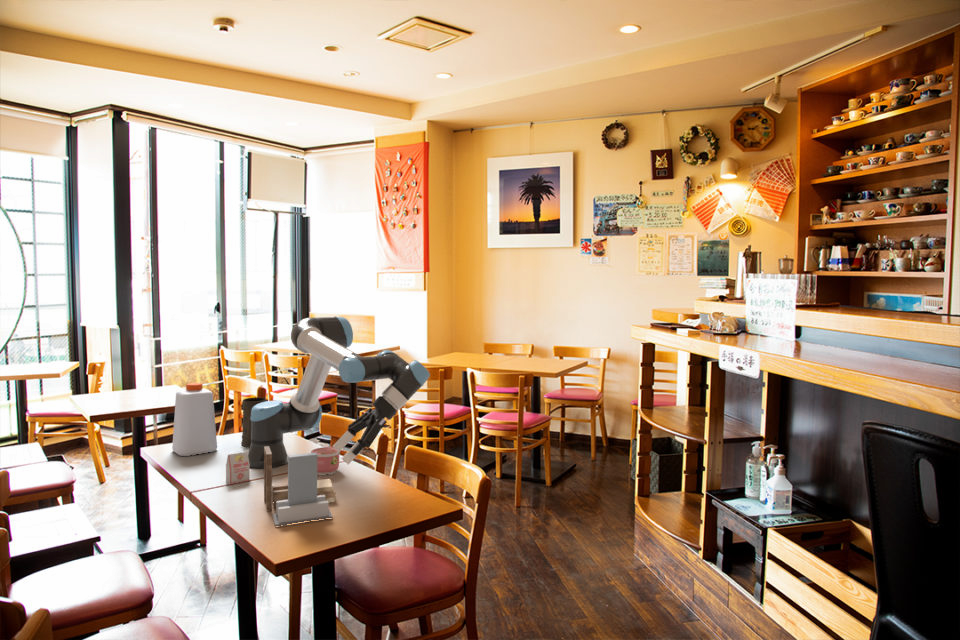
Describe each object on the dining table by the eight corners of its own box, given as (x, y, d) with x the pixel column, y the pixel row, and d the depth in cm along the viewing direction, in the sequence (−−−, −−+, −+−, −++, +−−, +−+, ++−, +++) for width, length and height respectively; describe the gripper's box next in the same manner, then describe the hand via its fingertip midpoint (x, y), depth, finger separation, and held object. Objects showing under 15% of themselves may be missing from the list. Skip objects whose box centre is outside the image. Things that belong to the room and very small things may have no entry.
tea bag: (226, 481, 202) (225, 453, 202) (245, 477, 207) (245, 450, 206) (229, 484, 200) (229, 455, 199) (249, 480, 204) (249, 452, 204)
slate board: (315, 511, 174) (315, 452, 173) (317, 514, 172) (317, 454, 171) (287, 515, 171) (287, 455, 170) (288, 518, 169) (288, 457, 168)
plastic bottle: (208, 444, 250) (208, 379, 249) (220, 451, 239) (219, 384, 238) (169, 450, 240) (169, 383, 239) (180, 458, 229) (179, 388, 228)
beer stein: (237, 442, 254) (237, 397, 252) (261, 438, 261) (262, 395, 258) (249, 452, 242) (249, 406, 240) (274, 448, 249) (275, 403, 247)
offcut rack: (330, 492, 194) (330, 440, 193) (335, 502, 184) (335, 447, 184) (264, 500, 185) (263, 446, 184) (266, 511, 176) (266, 454, 175)
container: (311, 477, 208) (311, 455, 208) (310, 469, 218) (310, 448, 218) (341, 475, 212) (341, 453, 211) (338, 466, 222) (338, 446, 221)
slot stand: (327, 508, 179) (327, 493, 179) (332, 519, 171) (332, 503, 171) (272, 516, 172) (272, 500, 172) (275, 527, 164) (275, 510, 164)
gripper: (409, 419, 170) (358, 475, 165) (386, 403, 193) (340, 451, 187) (392, 402, 168) (339, 459, 162) (371, 388, 190) (323, 437, 185)
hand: (339, 455), depth 175 cm, fingers open, 13 cm apart
